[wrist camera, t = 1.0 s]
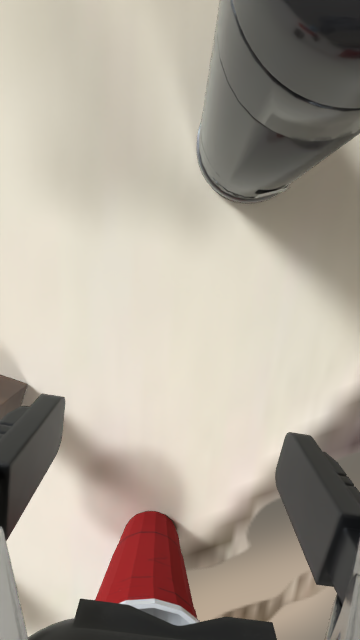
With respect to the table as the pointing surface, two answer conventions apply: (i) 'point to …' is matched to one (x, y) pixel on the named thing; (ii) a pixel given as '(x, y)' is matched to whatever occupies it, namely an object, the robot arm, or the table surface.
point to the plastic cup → (150, 571)
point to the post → (10, 394)
